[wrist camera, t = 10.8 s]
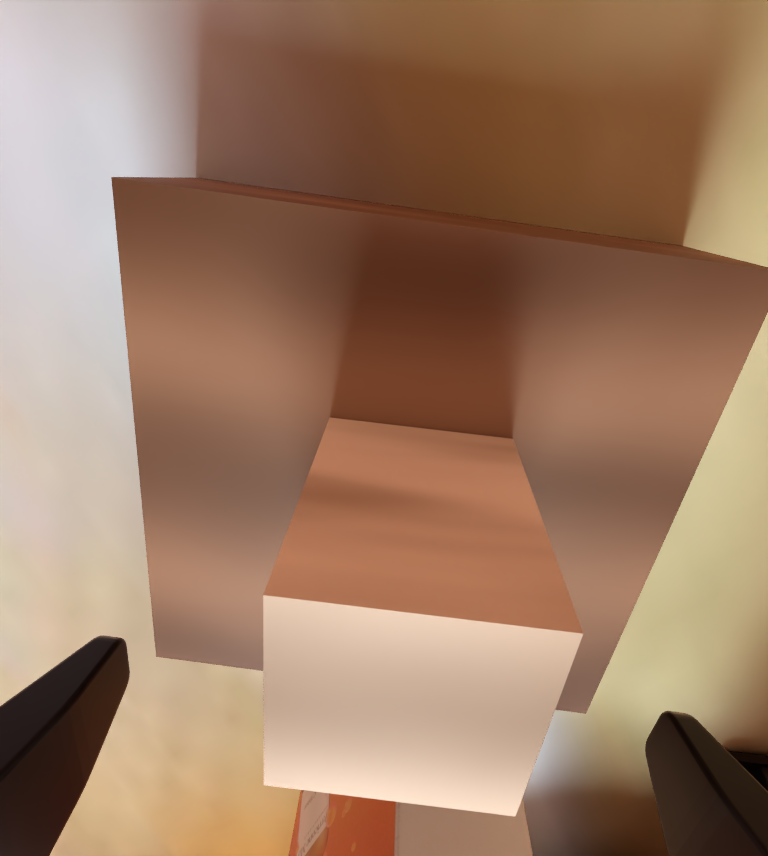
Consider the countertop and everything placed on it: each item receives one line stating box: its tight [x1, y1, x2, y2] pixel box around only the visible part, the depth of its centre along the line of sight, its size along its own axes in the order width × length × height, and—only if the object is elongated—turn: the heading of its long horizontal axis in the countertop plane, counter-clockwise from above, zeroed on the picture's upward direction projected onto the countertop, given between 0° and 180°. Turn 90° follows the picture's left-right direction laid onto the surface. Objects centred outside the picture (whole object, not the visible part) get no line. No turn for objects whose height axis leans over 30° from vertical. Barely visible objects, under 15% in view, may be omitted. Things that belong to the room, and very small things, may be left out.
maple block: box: [263, 418, 583, 816], centre depth 11 cm, size 4×4×6 cm
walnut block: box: [112, 177, 768, 713], centre depth 16 cm, size 14×14×5 cm
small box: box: [289, 790, 533, 856], centre depth 19 cm, size 8×6×10 cm
